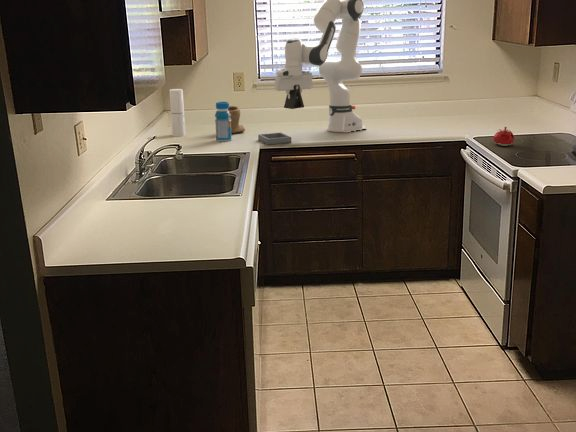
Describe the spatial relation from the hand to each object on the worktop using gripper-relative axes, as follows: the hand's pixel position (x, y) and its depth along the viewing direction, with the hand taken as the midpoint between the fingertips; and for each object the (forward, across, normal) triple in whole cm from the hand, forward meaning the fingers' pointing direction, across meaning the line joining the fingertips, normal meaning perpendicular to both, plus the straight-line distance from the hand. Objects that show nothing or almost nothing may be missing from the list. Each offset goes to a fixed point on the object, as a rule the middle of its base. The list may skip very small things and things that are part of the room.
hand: (293, 98), depth 333 cm
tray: (+22, +12, +1) cm, 24 cm away
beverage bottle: (+22, +34, -14) cm, 43 cm away
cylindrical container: (+22, +52, -39) cm, 69 cm away
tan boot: (+22, +24, -31) cm, 45 cm away
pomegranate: (+21, -86, +62) cm, 108 cm away
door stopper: (+5, 0, 0) cm, 5 cm away
